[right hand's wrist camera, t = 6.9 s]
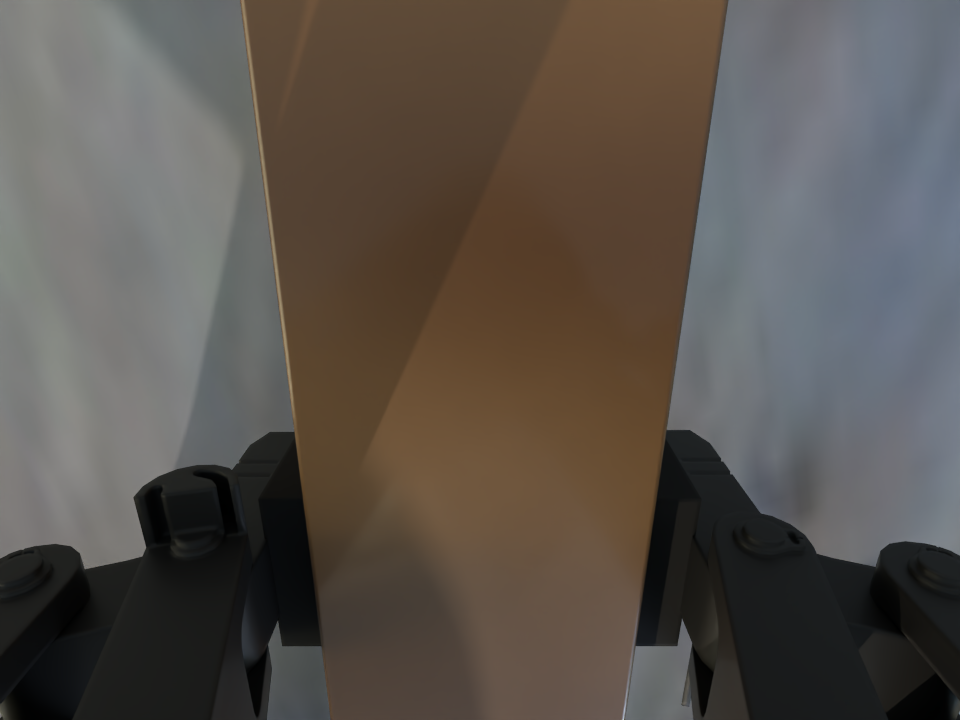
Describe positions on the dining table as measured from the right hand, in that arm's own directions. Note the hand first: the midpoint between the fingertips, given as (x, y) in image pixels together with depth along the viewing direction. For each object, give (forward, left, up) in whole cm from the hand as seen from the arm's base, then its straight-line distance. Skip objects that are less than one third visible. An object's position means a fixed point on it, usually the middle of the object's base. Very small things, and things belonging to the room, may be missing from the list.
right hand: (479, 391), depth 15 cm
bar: (+10, +29, -1) cm, 31 cm away
